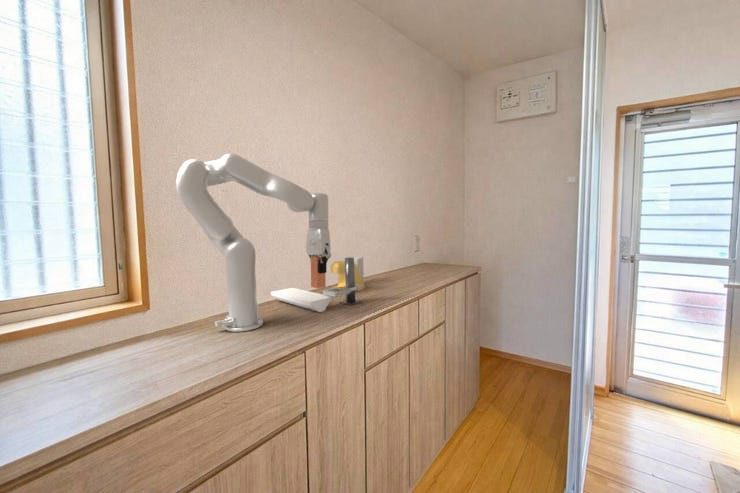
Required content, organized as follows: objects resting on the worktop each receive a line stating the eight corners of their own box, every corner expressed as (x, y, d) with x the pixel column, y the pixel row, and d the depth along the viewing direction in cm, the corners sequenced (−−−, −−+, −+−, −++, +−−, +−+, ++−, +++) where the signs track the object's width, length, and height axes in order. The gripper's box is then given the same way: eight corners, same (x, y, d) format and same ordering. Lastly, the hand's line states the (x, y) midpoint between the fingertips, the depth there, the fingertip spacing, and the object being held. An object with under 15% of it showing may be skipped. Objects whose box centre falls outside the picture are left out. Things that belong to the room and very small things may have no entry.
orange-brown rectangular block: (317, 288, 130) (317, 257, 129) (311, 286, 132) (310, 256, 131) (325, 286, 132) (325, 256, 132) (319, 285, 135) (319, 255, 134)
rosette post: (335, 310, 138) (334, 261, 136) (323, 307, 143) (321, 260, 141) (365, 302, 150) (363, 257, 148) (352, 299, 155) (351, 256, 153)
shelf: (292, 298, 162) (292, 287, 161) (332, 309, 141) (332, 296, 140) (271, 303, 154) (270, 291, 153) (310, 315, 133) (309, 302, 132)
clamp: (343, 296, 161) (342, 263, 160) (327, 295, 166) (326, 262, 164) (364, 288, 178) (363, 258, 177) (349, 287, 183) (348, 257, 181)
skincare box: (354, 283, 192) (353, 256, 191) (364, 284, 190) (363, 256, 188) (347, 286, 184) (346, 258, 183) (358, 287, 182) (357, 258, 181)
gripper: (298, 225, 134) (298, 271, 135) (324, 225, 122) (324, 275, 124) (313, 225, 139) (313, 269, 141) (340, 225, 128) (340, 273, 129)
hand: (318, 271), depth 132 cm, fingers closed on orange-brown rectangular block, 4 cm apart
